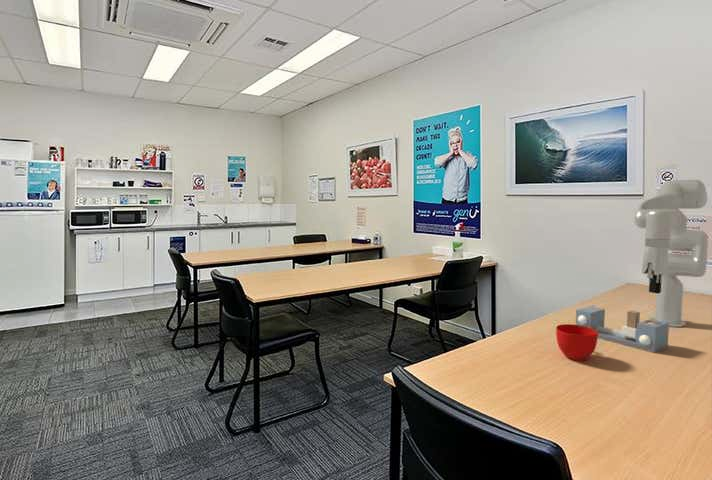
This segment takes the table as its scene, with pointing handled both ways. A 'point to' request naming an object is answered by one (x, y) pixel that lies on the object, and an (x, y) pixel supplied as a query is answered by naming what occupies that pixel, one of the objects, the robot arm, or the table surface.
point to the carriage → (631, 325)
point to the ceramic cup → (576, 341)
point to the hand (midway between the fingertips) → (654, 292)
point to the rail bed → (646, 336)
